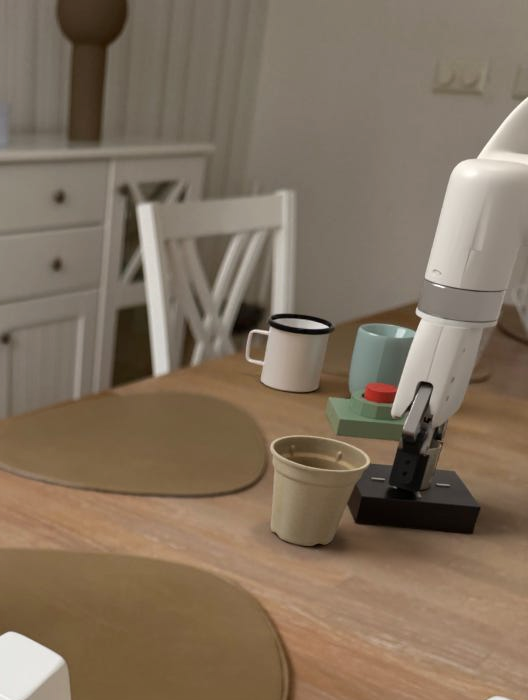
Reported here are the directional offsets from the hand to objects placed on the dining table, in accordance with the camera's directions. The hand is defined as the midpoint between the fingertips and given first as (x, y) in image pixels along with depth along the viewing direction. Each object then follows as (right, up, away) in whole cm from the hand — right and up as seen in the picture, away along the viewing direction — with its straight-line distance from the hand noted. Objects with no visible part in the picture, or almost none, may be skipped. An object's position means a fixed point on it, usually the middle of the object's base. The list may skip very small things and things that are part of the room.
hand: (411, 479), depth 103 cm
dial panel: (0, -3, +2) cm, 3 cm away
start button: (+4, +14, +23) cm, 27 cm away
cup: (+7, +16, +34) cm, 38 cm away
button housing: (+4, +11, +25) cm, 27 cm away
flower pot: (-13, -7, -5) cm, 15 cm away
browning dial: (0, 0, 0) cm, 0 cm away
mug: (-4, +20, +40) cm, 45 cm away
